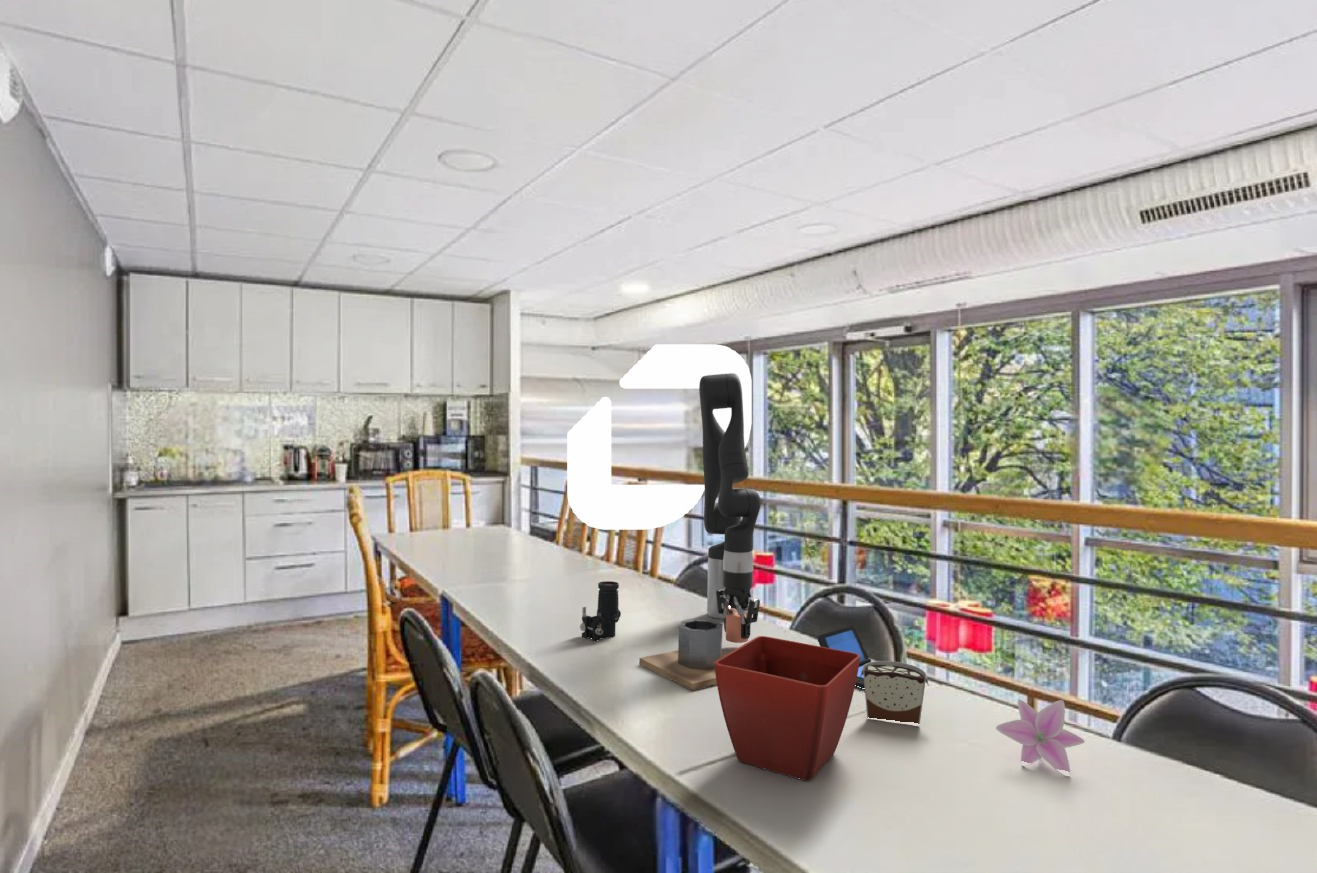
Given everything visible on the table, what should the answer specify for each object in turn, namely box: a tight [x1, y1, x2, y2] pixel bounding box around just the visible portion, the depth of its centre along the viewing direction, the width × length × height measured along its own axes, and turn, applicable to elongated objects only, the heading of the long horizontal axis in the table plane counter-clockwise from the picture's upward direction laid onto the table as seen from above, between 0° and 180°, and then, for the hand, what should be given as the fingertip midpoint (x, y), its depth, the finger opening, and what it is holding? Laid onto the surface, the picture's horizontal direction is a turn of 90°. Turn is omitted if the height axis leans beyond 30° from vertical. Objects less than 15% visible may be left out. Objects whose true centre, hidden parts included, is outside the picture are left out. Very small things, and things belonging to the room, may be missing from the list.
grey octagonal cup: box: [677, 619, 723, 670], centre depth 165 cm, size 10×10×8 cm
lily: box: [995, 699, 1086, 773], centre depth 121 cm, size 12×12×10 cm
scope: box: [579, 580, 622, 642], centre depth 189 cm, size 8×14×10 cm
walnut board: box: [638, 649, 730, 691], centre depth 165 cm, size 20×20×2 cm
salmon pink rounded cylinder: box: [725, 613, 749, 644], centre depth 181 cm, size 6×6×6 cm
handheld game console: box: [817, 625, 872, 689], centre depth 162 cm, size 16×13×9 cm
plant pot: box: [714, 635, 860, 781], centre depth 120 cm, size 19×19×17 cm
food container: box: [860, 660, 930, 724], centre depth 139 cm, size 12×6×10 cm, turn 71°
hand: (736, 635), depth 181 cm, fingers closed on salmon pink rounded cylinder, 5 cm apart
